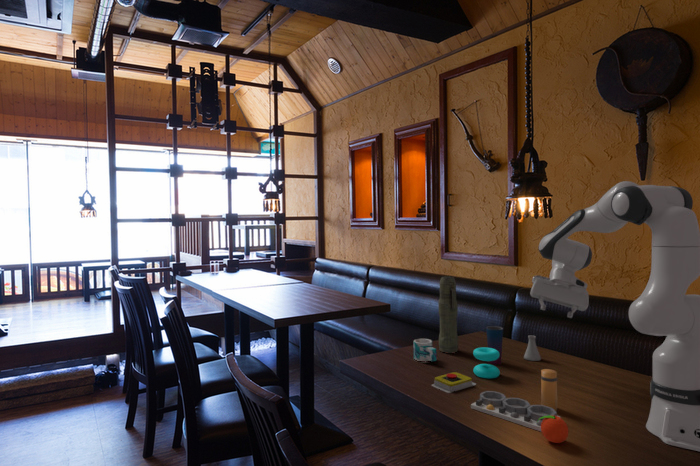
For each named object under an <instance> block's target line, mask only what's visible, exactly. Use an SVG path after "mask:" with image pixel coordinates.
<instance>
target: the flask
mask: <svg viewBox="0 0 700 466" xmlns="http://www.w3.org/2000/svg"><path fill="white" fill-rule="evenodd" d="M536 337H537V336H536V335H528V336H527V338H528V343H527V348H526V350H525V352H524V355H523V359H525V360H526V361H532V362H536V361H537V362H538V361H541V360H542V357H541V355H540V352H539V350H538V347H537V343H536Z"/></svg>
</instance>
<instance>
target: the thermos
mask: <svg viewBox="0 0 700 466" xmlns="http://www.w3.org/2000/svg"><path fill="white" fill-rule="evenodd" d="M439 280H440V281H439V300H438V302H437V303H438V315H439V335H438V347H439V349H438V350H440V351H442V352H448V353H452V352H457V351H458V352H459V336H458V319H457V318H458V317H457V316H458V314H459V313H458V311H459V310H458V301H457V300H458V299H457V283H456V279H455V277H454V276H452V275H451V276H450V275H449V276H447V275H446V276H445V275H444V276H442V277H440V279H439ZM440 351H439V352H440ZM442 352H441V353H442ZM458 352H457V353H458Z"/></svg>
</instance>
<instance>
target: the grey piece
mask: <svg viewBox="0 0 700 466" xmlns="http://www.w3.org/2000/svg"><path fill="white" fill-rule="evenodd" d="M470 409H472V410H475V411H478V412H481V413H483V414H487V415H490V416H493V417H496V418H499V419H502V420H504V421H508V422H511V423H514V424H517V425H519V426H523V427H526V428H529V429H532V430H535V431H538V432H541V433H542V431H541V423H542V421H543V419H544V418H542V419H540V418H541V417H543V416H548V415H550V416H551V415H554V416H558V417H560V418H561V416H559V415H558V412H557V411H555V410H554V409H553V408H551V407H547V406H544V405H542V404H530V402H529V401H528V400H526V399H523V398H519V397H506V395H505V393H502V392H499V391H495V390H485V391H484V390H483V392H481V393H479V399H477V400H475V402H472V403H471V404H470ZM539 419H540V420H539ZM561 419H562V418H561ZM537 421H538V422H537Z"/></svg>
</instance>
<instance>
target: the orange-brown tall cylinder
mask: <svg viewBox="0 0 700 466" xmlns="http://www.w3.org/2000/svg"><path fill="white" fill-rule="evenodd" d="M540 372H541V373H540V381H541V382H540V383H541V385H540V386H541V387H540V388H541V390H540V391H541V394H540V395H541V398H540V399H541V405H544V406H547V407H551V408H553V409H554V410H555V411H556V412H557V411H558V372H557V371H556V370H554V369H550V368H544V369H541V370H540Z"/></svg>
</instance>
